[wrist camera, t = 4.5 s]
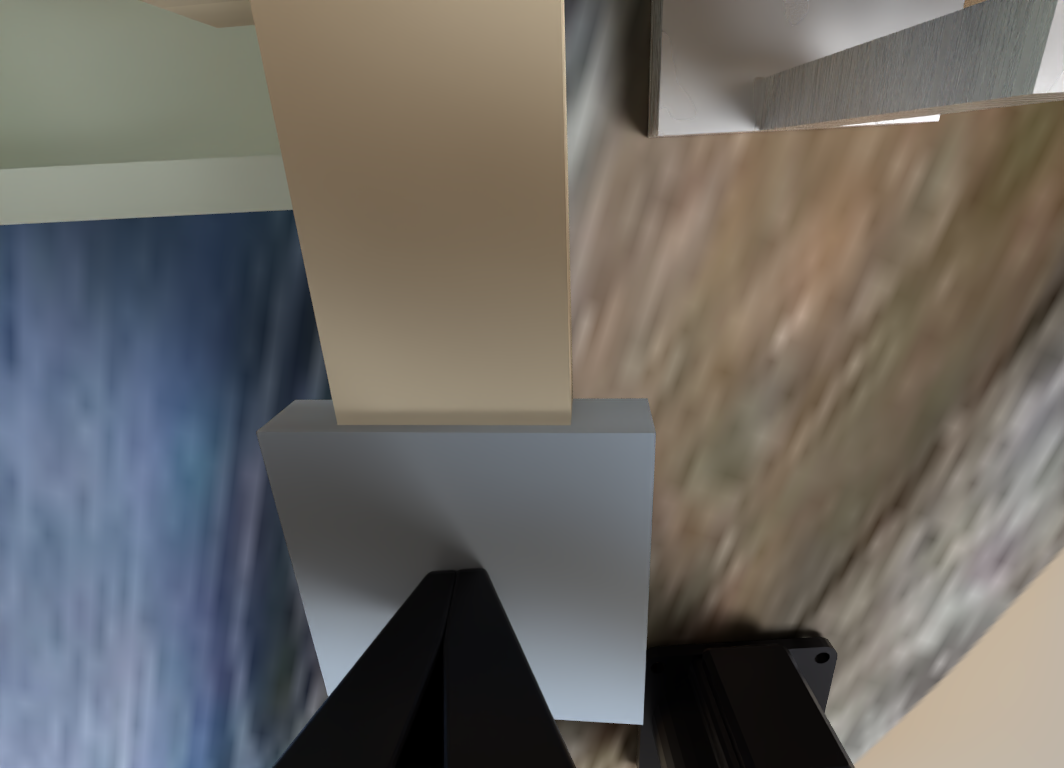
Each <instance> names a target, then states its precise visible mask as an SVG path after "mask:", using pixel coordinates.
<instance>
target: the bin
mask: <svg viewBox="0 0 1064 768" xmlns="http://www.w3.org/2000/svg"><path fill="white" fill-rule="evenodd" d="M276 210H293V207H292V203H291V198H290V193H289V188H288V183H287V179H286V174H285V169H284V164H283V159H282V154H281V150H280V145H279V140H278V135H277V130H276V125H275V121H274V116H273V111H272V106H271V101H270V96H269V92H268V87H267V82H266V77H265V72H264V68H263V63H262V58H261V53H260V48H259V43H258V39H257V34H256V29H255V25H246V26H235V27H223V28H216V27H213V26H211V25H208V24H205V23H202V22H199V21H196V20H194V19H191V18H188V17H185V16H182V15H179V14H177V13H174V12H171V11H168V10H165V9H162V8H160V7H157V6H154V5H151V4H148V3H145V2H143V1H140V0H0V225H12V224H31V223H50V222H69V221H88V220H107V219H125V218H144V217H163V216H182V215H201V214H220V213H239V212H258V211H276Z"/></svg>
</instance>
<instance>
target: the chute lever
mask: <svg viewBox="0 0 1064 768" xmlns="http://www.w3.org/2000/svg"><path fill="white" fill-rule="evenodd" d="M140 1H143V2H145V3H148V4H151V5H154V6H157V7H160V8H162V9H165V10H168V11H171V12H174V13H177V14H179V15H182V16H185V17H188V18H191V19H194V20H196V21H199V22H202V23H205V24H208V25H211V26H213V27H216V28H223V27H235V26H246V25H255V29H256V34H257V39H258V43H259V48H260V53H261V58H262V63H263V68H264V72H265V77H266V82H267V87H268V92H269V96H270V101H271V106H272V111H273V116H274V121H275V125H276V130H277V135H278V140H279V145H280V150H281V154H282V159H283V164H284V169H285V174H286V179H287V183H288V188H289V193H290V198H291V203H292V207H293V212H294V217H295V222H296V227H297V232H298V236H299V241H300V246H301V251H302V256H303V261H304V265H305V270H306V275H307V280H308V285H309V289H310V294H311V299H312V304H313V309H314V314H315V318H316V323H317V328H318V333H319V338H320V343H321V347H322V352H323V357H324V362H325V367H326V372H327V376H328V381H329V386H330V391H331V396H332V400H295V401H293V402H292V403H291V404H290V405H288V406H287V407H286V408H285V409H284V410H282V411H281V412H280V413H279V414H277V415H276V416H275V417H274V418H273V419H271V420H270V421H269V422H268V423H266V424H265V425H264V426H263V427H261V428H260V429H259V430H258V431H257V432H256V434H257V438H258V441H259V445H260V449H261V452H262V456H263V460H264V463H265V467H266V471H267V474H268V478H269V481H270V485H271V489H272V492H273V496H274V500H275V503H276V507H277V511H278V514H279V518H280V522H281V525H282V529H283V533H284V536H285V540H286V544H287V547H288V551H289V555H290V558H291V562H292V566H293V569H294V573H295V577H296V580H297V584H298V588H299V591H300V595H301V599H302V602H303V606H304V610H305V613H306V617H307V621H308V624H309V628H310V632H311V635H312V639H313V643H314V646H315V650H316V654H317V657H318V661H319V665H320V668H321V672H322V676H323V679H324V683H325V687H326V690H327V694H328V697H329V696H330V694H331V693H332V692H333V691H334V689H335V688H336V687H337V686H338V684H339V683H340V682H341V681H342V679H343V678H344V677H345V676H346V674H347V673H348V672H349V671H350V669H351V668H352V667H353V666H354V664H355V663H356V662H357V661H358V659H359V658H360V657H361V656H362V654H363V653H364V652H365V650H366V649H367V648H368V647H369V645H370V644H371V643H372V642H373V640H374V639H375V638H376V637H377V635H378V634H379V633H380V632H381V630H382V629H383V628H384V627H385V625H386V624H387V623H388V622H389V620H390V619H391V618H392V617H393V615H394V614H395V613H396V612H397V610H398V609H399V608H400V607H401V605H402V604H403V603H404V602H405V600H406V599H407V598H408V597H409V595H410V594H411V593H412V592H413V590H414V589H415V588H416V587H417V585H418V584H419V583H420V582H421V580H422V579H423V578H424V577H425V575H426V574H427V573H429V572H431V571H438V570H456V571H458V570H460V569H469V568H484V569H486V571H487V572H488V574H489V576H490V579H491V581H492V583H493V585H494V587H495V590H496V592H497V594H498V596H499V599H500V601H501V603H502V605H503V607H504V610H505V612H506V614H507V616H508V618H509V621H510V623H511V625H512V627H513V629H514V632H515V634H516V636H517V638H518V641H519V643H520V645H521V647H522V649H523V652H524V654H525V656H526V658H527V660H528V663H529V665H530V667H531V669H532V672H533V674H534V676H535V678H536V680H537V683H538V685H539V687H540V689H541V691H542V694H543V696H544V698H545V700H546V703H547V705H548V707H549V709H550V711H551V714H552V716H553V718H554V719H557V720H573V721H589V722H606V723H622V724H638V725H643V715H644V692H645V669H646V646H647V623H648V600H649V577H650V554H651V531H652V508H653V485H654V462H655V439H656V432H655V428H654V424H653V420H652V415H651V411H650V407H649V403H648V399H647V398H646V399H573V385H572V339H571V292H570V246H569V200H568V154H567V107H566V61H565V15H564V0H140Z"/></svg>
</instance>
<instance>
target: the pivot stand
mask: <svg viewBox="0 0 1064 768" xmlns="http://www.w3.org/2000/svg"><path fill="white" fill-rule="evenodd" d="M964 1H965V0H652V6H651V39H650V73H649V106H648V138H653V137H673V136H692V135H711V134H730V133H749V132H768V131H787V130H807V129H826V128H845V127H864V126H883V125H902V124H915V123H925V122H935V121H939V117H940V114H948V113H956V112H965V111H974V110H982V109H991V108H1000V107H1008V106H1017V105H1026V104H1034V103H1043V102H1051V101H1060V100H1064V0H987V1H984V2H981V3H979V4H976V5H973V6H970V7H967V8H964V9H963V6H964Z"/></svg>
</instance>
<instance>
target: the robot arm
mask: <svg viewBox="0 0 1064 768" xmlns="http://www.w3.org/2000/svg"><path fill="white" fill-rule="evenodd" d="M836 660H837V652H836V651H835V649H834V648H833V646H832V645H831V643H830V642H829V640H828V639H826V638H822V637H812V638H795V639H779V640H762V641H745V642H728V643H711V644H694V645H678V646H661V647H652V648H649V649H647V650H646V669H645V692H644V715H643V725H638V738H637V764H636V765H637V768H855V767H854V765H853V763H852V762H851V760H850V758H849V756H848V755H847V753H846V751H845V749H844V747H843V746H842V744H841V742H840V740H839V739H838V737H837V735H836V733H835V731H834V730H833V728H832V726H831V724H830V722H829V721H828V719H827V717H826V715H825V714H824V713H825V708H826V704H827V700H828V695H829V691H830V686H831V682H832V678H833V673H834V669H835V664H836ZM657 662H658V663H657ZM272 768H576V767H575V764H574V762H573V760H572V758H571V756H570V753H569V751H568V749H567V747H566V745H565V742H564V740H563V738H562V736H561V733H560V731H559V729H558V727H557V725H556V722H555V720H554V718H553V716H552V714H551V711H550V709H549V707H548V705H547V703H546V700H545V698H544V696H543V694H542V691H541V689H540V687H539V685H538V683H537V680H536V678H535V676H534V674H533V672H532V669H531V667H530V665H529V663H528V660H527V658H526V656H525V654H524V652H523V649H522V647H521V645H520V643H519V641H518V638H517V636H516V634H515V632H514V629H513V627H512V625H511V623H510V621H509V618H508V616H507V614H506V612H505V610H504V607H503V605H502V603H501V601H500V599H499V596H498V594H497V592H496V590H495V587H494V585H493V583H492V581H491V579H490V576H489V574H488V572H487V571H486V569H484V568H469V569H460V570H458V571H456V570H438V571H431V572H429V573H427V574H426V575H425V577H424V578H423V579H422V580H421V582H420V583H419V584H418V585H417V587H416V588H415V589H414V590H413V592H412V593H411V594H410V595H409V597H408V598H407V599H406V600H405V602H404V603H403V604H402V605H401V607H400V608H399V609H398V610H397V612H396V613H395V614H394V615H393V617H392V618H391V619H390V620H389V622H388V623H387V624H386V625H385V627H384V628H383V629H382V630H381V632H380V633H379V634H378V635H377V637H376V638H375V639H374V640H373V642H372V643H371V644H370V645H369V647H368V648H367V649H366V650H365V652H364V653H363V654H362V656H361V657H360V658H359V659H358V661H357V662H356V663H355V664H354V666H353V667H352V668H351V669H350V671H349V672H348V673H347V674H346V676H345V677H344V678H343V679H342V681H341V682H340V683H339V684H338V686H337V687H336V688H335V689H334V691H333V692H332V693H331V694H330V696H329V697H328V698H327V699H326V701H325V702H324V703H323V704H322V706H321V707H320V708H319V709H318V711H317V712H316V713H315V714H314V716H313V717H312V718H311V719H310V721H309V722H308V723H307V724H306V726H305V727H304V728H303V729H302V731H301V732H300V733H299V734H298V736H297V737H296V738H295V739H294V741H293V742H292V743H291V744H290V746H289V747H288V748H287V749H286V751H285V752H284V753H283V754H282V756H281V757H280V758H279V759H278V761H277V762H276V763H275V764H274V766H273V767H272Z"/></svg>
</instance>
